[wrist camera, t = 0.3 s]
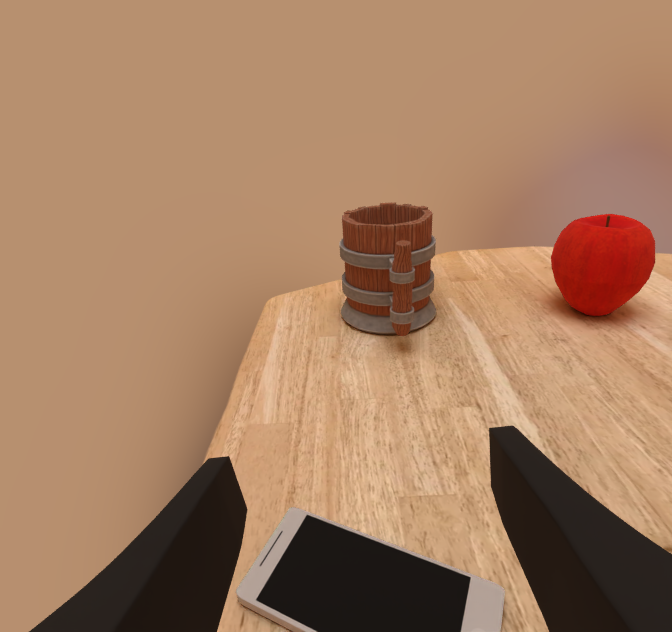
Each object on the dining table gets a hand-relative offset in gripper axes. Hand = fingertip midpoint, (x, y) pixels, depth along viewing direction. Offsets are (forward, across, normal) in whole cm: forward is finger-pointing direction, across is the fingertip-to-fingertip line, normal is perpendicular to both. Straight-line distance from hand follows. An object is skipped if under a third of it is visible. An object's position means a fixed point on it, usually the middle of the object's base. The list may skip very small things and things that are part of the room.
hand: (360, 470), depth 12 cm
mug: (+46, -3, +17) cm, 49 cm away
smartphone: (+8, +2, +19) cm, 20 cm away
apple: (+47, -30, +20) cm, 60 cm away
